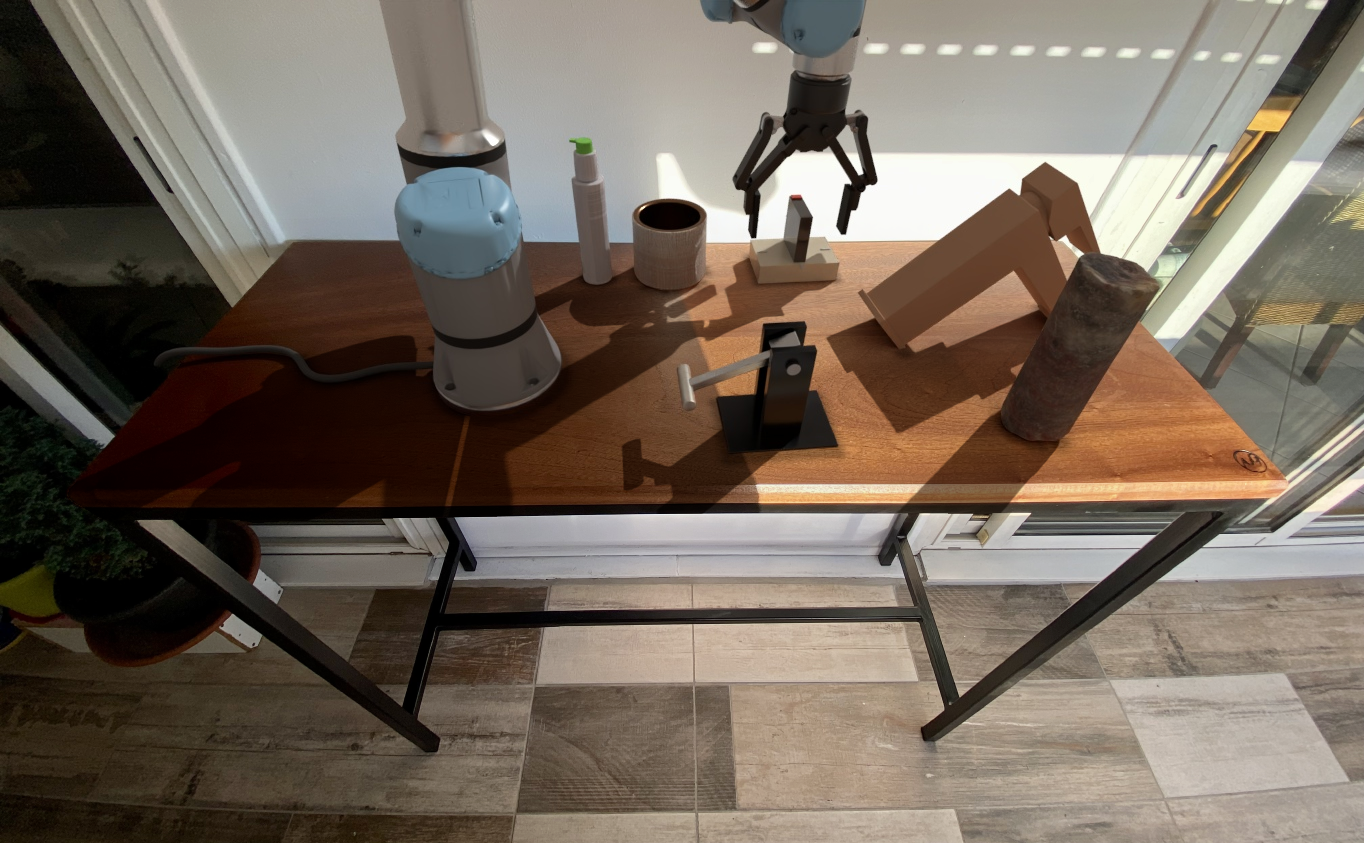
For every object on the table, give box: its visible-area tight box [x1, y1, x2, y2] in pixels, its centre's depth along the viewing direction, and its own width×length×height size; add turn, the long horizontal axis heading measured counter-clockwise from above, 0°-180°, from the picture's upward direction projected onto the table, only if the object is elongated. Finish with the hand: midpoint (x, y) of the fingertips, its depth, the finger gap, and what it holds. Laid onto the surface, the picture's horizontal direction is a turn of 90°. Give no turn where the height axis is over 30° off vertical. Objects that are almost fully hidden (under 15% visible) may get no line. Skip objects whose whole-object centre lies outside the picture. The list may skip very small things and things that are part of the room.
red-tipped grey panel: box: [783, 194, 814, 262], centre depth 88 cm, size 7×2×7 cm, turn 6°
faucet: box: [857, 161, 1102, 350], centre depth 78 cm, size 7×23×25 cm
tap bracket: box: [716, 320, 839, 455], centre depth 64 cm, size 12×9×13 cm
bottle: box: [568, 137, 613, 286], centre depth 83 cm, size 4×4×20 cm
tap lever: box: [676, 331, 801, 412], centre depth 61 cm, size 13×6×2 cm, turn 96°
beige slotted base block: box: [748, 236, 840, 285], centre depth 92 cm, size 12×11×3 cm
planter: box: [631, 197, 708, 292], centre depth 88 cm, size 11×11×10 cm
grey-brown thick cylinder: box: [1000, 252, 1161, 442], centre depth 62 cm, size 8×7×20 cm
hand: (796, 232), depth 89 cm, fingers open, 13 cm apart
